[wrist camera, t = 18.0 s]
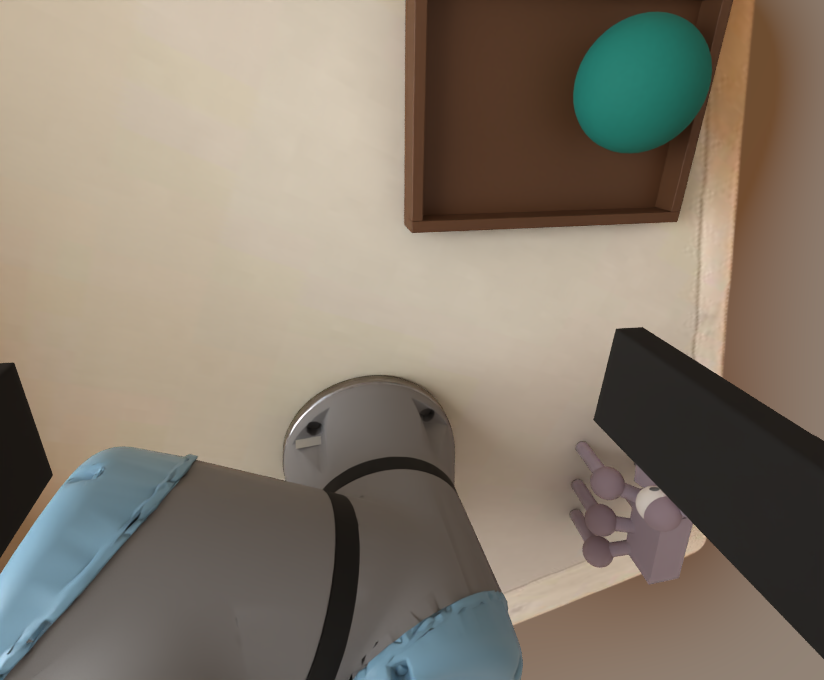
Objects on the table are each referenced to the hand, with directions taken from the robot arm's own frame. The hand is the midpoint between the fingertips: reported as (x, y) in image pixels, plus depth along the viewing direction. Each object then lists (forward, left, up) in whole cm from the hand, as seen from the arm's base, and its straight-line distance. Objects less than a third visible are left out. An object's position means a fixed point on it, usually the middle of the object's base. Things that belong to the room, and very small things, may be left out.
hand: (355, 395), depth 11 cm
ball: (+7, -21, -22) cm, 31 cm away
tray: (+6, -17, -26) cm, 32 cm away
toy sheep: (-26, -29, -26) cm, 47 cm away
